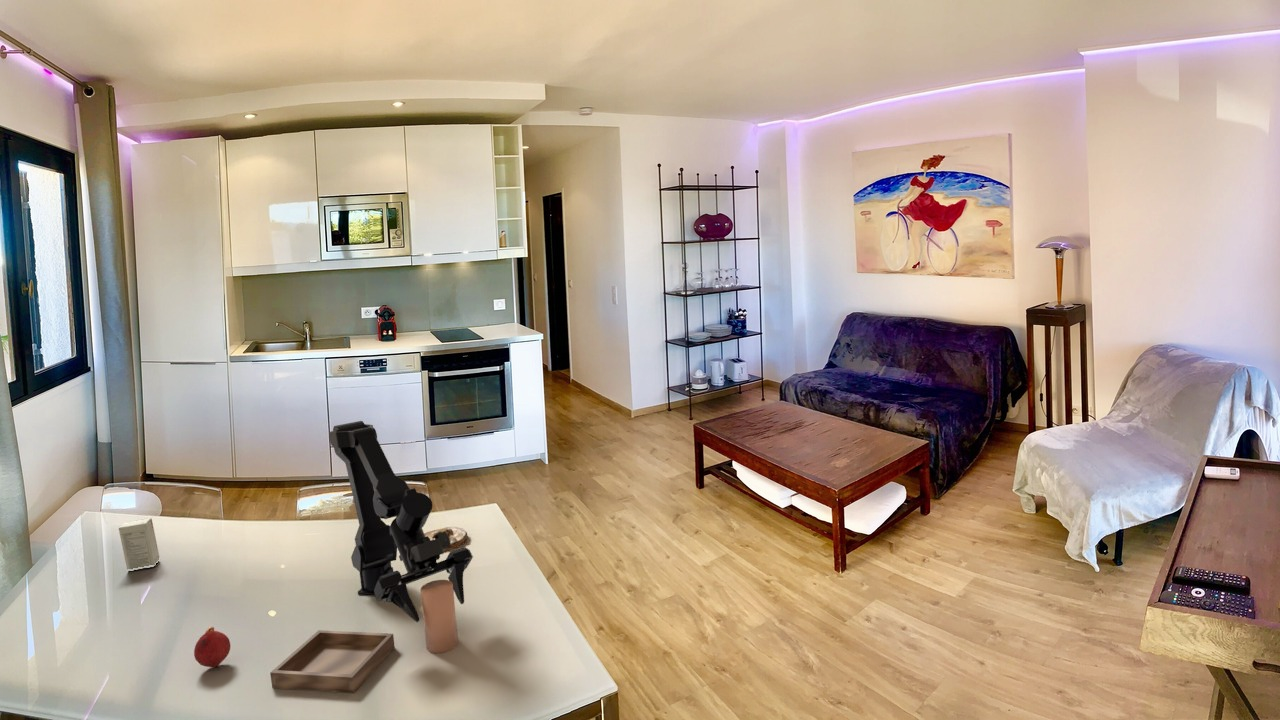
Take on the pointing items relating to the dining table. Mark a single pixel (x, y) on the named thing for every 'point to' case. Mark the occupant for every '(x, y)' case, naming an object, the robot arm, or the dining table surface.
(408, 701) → the dining table surface
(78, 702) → the dining table surface
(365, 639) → the box
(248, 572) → the dining table surface
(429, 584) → the terracotta cylinder
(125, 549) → the skincare box
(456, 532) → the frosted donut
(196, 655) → the onion
